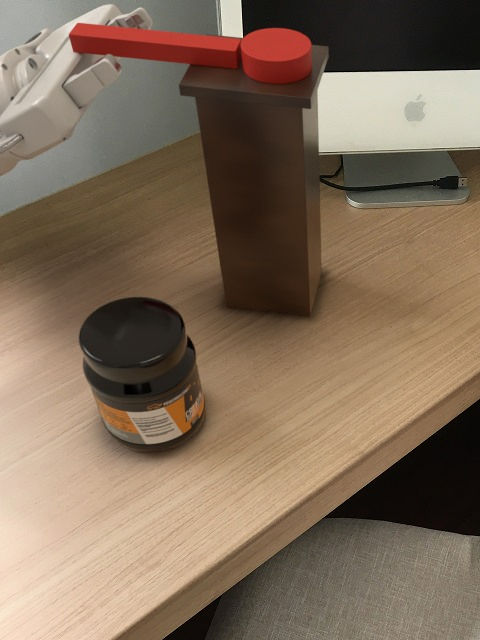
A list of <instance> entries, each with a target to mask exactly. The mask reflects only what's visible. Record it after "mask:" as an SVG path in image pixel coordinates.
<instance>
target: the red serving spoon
mask: <svg viewBox="0 0 480 640" xmlns="http://www.w3.org/2000/svg"><path fill="white" fill-rule="evenodd" d="M69 38H70V42H71V45H72V49H73V52H77V53H86V54H96V55H107V54H111V55H113V56H116V57H121V58H127V59H136V60H145V61H154V62H155V61H156V62H165V63H167V62H168V63H174V64H184V65H190V64H194V65H203V66H213V67H223V68H233V69H238V66H239V64H240V62H241V60H242V65H243V70H244V72H245V73H246V74H247V75H248V76H249V77H250V78H252V79H254V80H257V81H260V82H264V83H270V84H285V83H292V82H295V81H299V80H301V79H303V78H305V77H306V76H307V75H309V73H310V72H311V70H312V47H311V45H312V41H311V40H310V38H309V37H308V36H307V35H305V34H303V33H302V32H300V31H297V30H293V29H289V28H283V27H269V28H268V27H267V28H262V29H257V30H254V31H252V32H249V33H248V34H246V35H245V36H244V37H242V38H243V39H242V41H241V39H235V38H225V37H215V36H206V34H205V35H204V34H196V33H195V34H194V33H184V32H174V31H165V30H155V29H149V30H146V29H136V28H126V27H116V26H106V25H96V24H86V23H77V24H76V25H75V26H74V28H73V29H72V30H71V32H70V33H69Z"/></svg>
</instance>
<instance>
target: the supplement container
mask: <svg viewBox="0 0 480 640" xmlns="http://www.w3.org/2000/svg"><path fill="white" fill-rule="evenodd" d="M78 344H79V347H80V350H81V353H82V355H83V357H82V371H83V375H84V377H85V380H86V383H88V385H89V388H90V390H91V392H92V396H93V398H94V401H95V403H96V406H97V409H98V411H99V414H100V417H101V421H102V424H103V427H104V429H105V431H106V432H107V434H108V435H109V436H110V438H112V439H113V440H114V441H115V442H116V443H118V444H120V445H121V446H123V447H125V448H128V449H131V450H134V451H139V452H160V451H165V450H169V449H172V448H175V447H177V446H179V445H181V444H183V443H185V442H186V441H187V440H189V439H190V438H192V437H193V436H194V434H196V432H197V431H198V430H199V429H200V427H201V426H202V423H203V422H204V420H205V417H206V410H207V403H206V397H205V394H204V391H203V386H202V382H201V377H200V373H199V368H198V362H197V357H198V356H197V351H196V347H195V344H194V342H193V340H192V338H191V337H190V336H189V335H188V333H187V329H186V325H185V321H184V318H183V316H182V314H181V313H180V312H179V311H178V310H177V308H176V307H174V306H172V305H171V304H169V303H168V302H166V301H164V300H160V299H157V298H154V297H147V296H128V297H124V298H118V299H115V300H112V301H109V302H107V303H105V304H102V305H101V306H99V307H97V308H96V309H94V310H93V311H92V312H91V313H89V314H88V316H87V317H86V318H85V319H84V321H83V322H82V324H81V326H80V328H79V331H78Z"/></svg>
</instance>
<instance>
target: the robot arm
mask: <svg viewBox="0 0 480 640" xmlns="http://www.w3.org/2000/svg"><path fill="white" fill-rule="evenodd" d="M77 23H86V24H96V25H106V26H116V27H126V28H136V29H146V30H151V28H152V26H153V19H152V17H151V16H150V15H149V13H148V12H147V10H146V9H145V8H144V7H138V8H136V9H135V10H133V11H131V12H130V13H125V14H123V13H122V12H121V11H120V9H119V8H118V7H117V5H115V4H113V3H108V4H103V5H101V6H98V7H96V8H94V9H92V10H90V11H88V12H86V13H84V14H82V15H80V16H78V17H77V18H74V19H72V20H71V21H68V22H67V23H65V24H63V25H62V26H60V27H59V28H57V29H55V30H54V31H51V29H49V28H46V27H45V28H43V29H42V30H40V31H39V32H37V33H36V34H34V35H32V37H30V38H29V39H28V40H27V41H26V42H25V43H24V44H21V45H18V46H16V47H14V48H11V49H9V50H7V51H5V52H4V53H2V54H1V55H0V177H2V176H4V175H6V174H8V173H10V172H11V171H12V170H13V169H14V168H16V166H17V165H18V164H19V162H21V161H29V160H33V159H35V158H37V157H38V156H40V155H43V154H44V153H47V152H48V151H49V150H51V149H53V148H54V147H55V148H56V146H58V145H60V144H62V143H65V142H66V141H68V140H69V139H70V138H72V135H73V134H74V133H75V130H76V129H75V128H76V127H77V125H78V123H79V122H80V121H81V119H82V118H83V116H84V115H85V113H86V112H87V109H88V108H89V107H90V106H91V104H92V103H93V101H94V100H95V98H96V96H97V95H99V94H100V93H101V92H102V91H103V90H105V88H106V87H109V85H111V84H113V83H115V82H116V81H117V80H118V79H119V77H120V75H121V74H122V72H123V67H122V66H121V64H120V63H119V62H120V60H121V58H122V57H116V56H113V55H111V54H107V55H96V54H86V53H77V52H73V49H72V45H71V42H70V38H69V33H70V32H71V30H72V29H73V28H74V26H75V25H76V24H77Z"/></svg>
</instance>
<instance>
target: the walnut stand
mask: <svg viewBox="0 0 480 640" xmlns="http://www.w3.org/2000/svg"><path fill="white" fill-rule="evenodd" d="M205 36H215V37H225V38H235V39H241V41H242V39H243V38H244V37H240V36H239V37H238V36H237V37H236V36H229V35H228V36H227V35H218V34H208V33H207V34H205ZM311 47H312V70H311V72H310V73H309V75H307V76H306V77H305V78H303V79H301V80H299V81H295V82H292V83H285V84H270V83H264V82H260V81H257V80H254V79H252V78H250V77H249V76H248V75H247V74H246V73H245V72H244V70H243V65H242V60H241V62H240V64H239V66H238V69H233V68H223V67H213V66H203V65H194V64H188V67H187V68H186V70H185V73H184V74H183V76H182V78H181V80H180V82H179V84H178V89H179V95H180V97H181V96H182V97H190V98H194V101H195V107H196V114H197V120H198V121H197V122H198V126H199V127H198V128H199V133H200V141H201V147H202V154H203V160H204V167H205V173H206V174H205V175H206V181H207V187H208V194H209V200H210V206H211V213H212V220H213V227H214V233H215V240H216V246H217V247H216V248H217V254H218V261H219V266H220V267H219V268H220V273H221V274H220V275H221V280H222V287H223V294H224V300H225V307H227V308H234V309H235V308H236V309H244V310H251V311H261V312H271V313H279V314H287V315H288V314H289V315H297V316H304V317H311V316H312V311H313V308H314V304H315V301H316V297H317V292H318V289H319V285H320V281H321V278H322V269H323V268H322V229H321V228H322V227H321V187H320V186H321V185H320V183H321V182H320V180H321V179H320V146H319V145H320V143H319V141H320V140H319V137H320V136H319V135H320V134H319V99H318V96H319V95H318V92H319V91H318V89H319V88H320V84H321V81H322V78H323V74H324V73H325V69H326V66H327V64H328V60H329V58H330V55H329V54H330V53H329V52H330V51H329V50H330V49H329V46H327V45H317V44H311Z"/></svg>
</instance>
